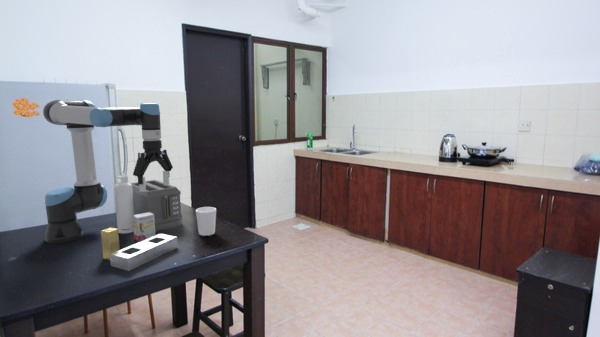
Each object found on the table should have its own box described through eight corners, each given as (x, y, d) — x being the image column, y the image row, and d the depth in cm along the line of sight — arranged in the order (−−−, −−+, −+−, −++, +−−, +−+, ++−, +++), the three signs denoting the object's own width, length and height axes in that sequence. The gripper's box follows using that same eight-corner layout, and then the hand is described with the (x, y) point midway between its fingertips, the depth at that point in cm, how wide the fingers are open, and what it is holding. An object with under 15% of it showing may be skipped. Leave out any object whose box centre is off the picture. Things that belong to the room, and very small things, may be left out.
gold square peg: (103, 258, 153) (100, 230, 151) (112, 254, 157) (110, 227, 155) (110, 260, 151) (108, 232, 149) (120, 256, 155) (117, 229, 153)
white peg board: (110, 266, 146) (109, 254, 145) (160, 243, 169) (160, 233, 168) (128, 270, 142) (127, 258, 141) (177, 247, 165) (177, 236, 164)
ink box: (138, 242, 171) (136, 217, 169) (133, 239, 175) (132, 215, 173) (156, 237, 177) (154, 213, 175) (151, 235, 181) (150, 211, 179)
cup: (202, 239, 175) (201, 213, 173) (193, 234, 182) (191, 209, 180) (221, 234, 181) (220, 209, 179) (211, 229, 188) (210, 205, 186)
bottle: (139, 229, 189) (135, 175, 184) (125, 234, 181) (121, 178, 176) (127, 227, 192) (123, 174, 187) (114, 232, 185) (109, 176, 180)
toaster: (150, 234, 183) (148, 193, 179) (126, 218, 206) (123, 183, 203) (186, 225, 195) (184, 188, 192) (158, 212, 219) (156, 178, 216)
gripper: (134, 142, 145) (138, 195, 149) (179, 137, 168) (181, 183, 172) (121, 142, 148) (125, 193, 152) (166, 137, 171) (169, 182, 175)
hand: (155, 188), depth 162 cm, fingers open, 13 cm apart
